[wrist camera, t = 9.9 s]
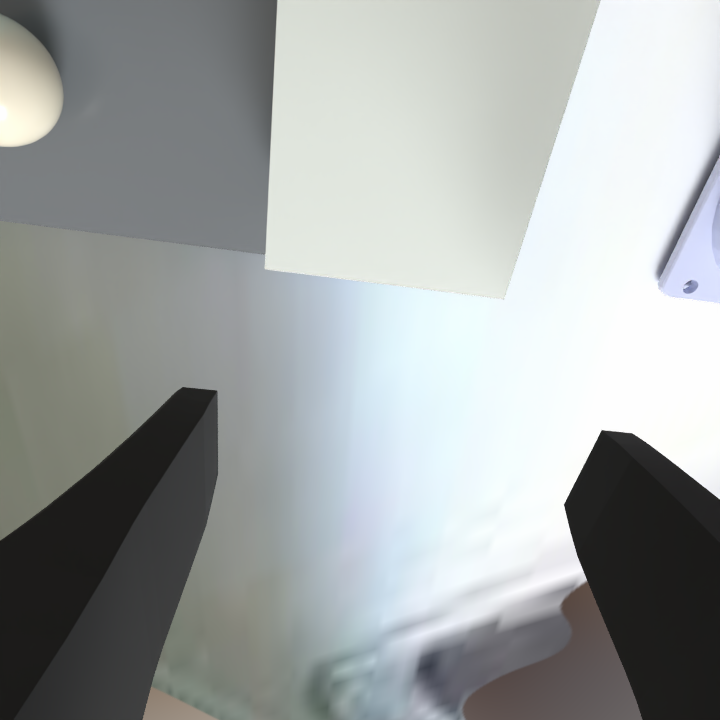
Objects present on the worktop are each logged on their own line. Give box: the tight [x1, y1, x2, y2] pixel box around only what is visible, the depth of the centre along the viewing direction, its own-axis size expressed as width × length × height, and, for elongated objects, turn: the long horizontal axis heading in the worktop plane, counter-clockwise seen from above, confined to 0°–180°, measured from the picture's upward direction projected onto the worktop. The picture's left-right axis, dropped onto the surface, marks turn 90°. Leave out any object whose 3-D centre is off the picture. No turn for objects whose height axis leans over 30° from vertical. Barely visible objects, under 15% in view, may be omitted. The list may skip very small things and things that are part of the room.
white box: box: [265, 0, 600, 299], centre depth 12 cm, size 6×9×5 cm, turn 172°
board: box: [0, 0, 277, 254], centre depth 14 cm, size 18×12×1 cm, turn 82°
